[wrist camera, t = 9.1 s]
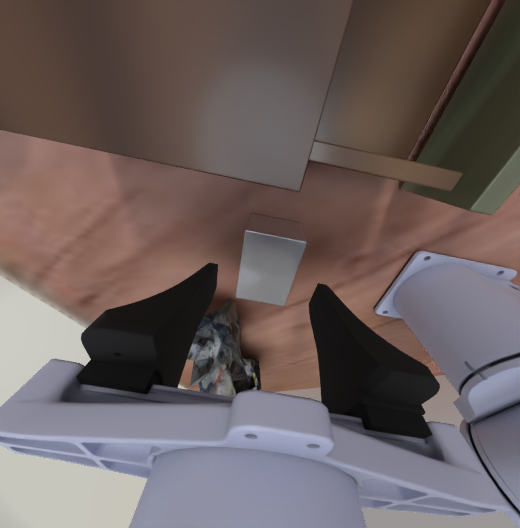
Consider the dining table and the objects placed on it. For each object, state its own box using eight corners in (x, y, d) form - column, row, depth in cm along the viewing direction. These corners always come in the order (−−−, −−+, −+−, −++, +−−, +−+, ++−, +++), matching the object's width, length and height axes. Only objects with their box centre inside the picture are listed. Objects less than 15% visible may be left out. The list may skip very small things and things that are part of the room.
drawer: (687, -60, 8) (1357, -399, 3) (475, 205, 14) (584, 235, 9) (267, -177, 7) (252, -849, 2) (236, 153, 13) (212, 156, 8)
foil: (285, 317, 18) (258, 472, 18) (270, 297, 29) (252, 393, 28) (161, 297, 17) (131, 461, 17) (194, 284, 28) (175, 384, 27)
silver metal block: (251, 212, 16) (245, 229, 13) (300, 222, 16) (307, 242, 13) (242, 271, 19) (235, 297, 16) (282, 279, 20) (284, 306, 16)
